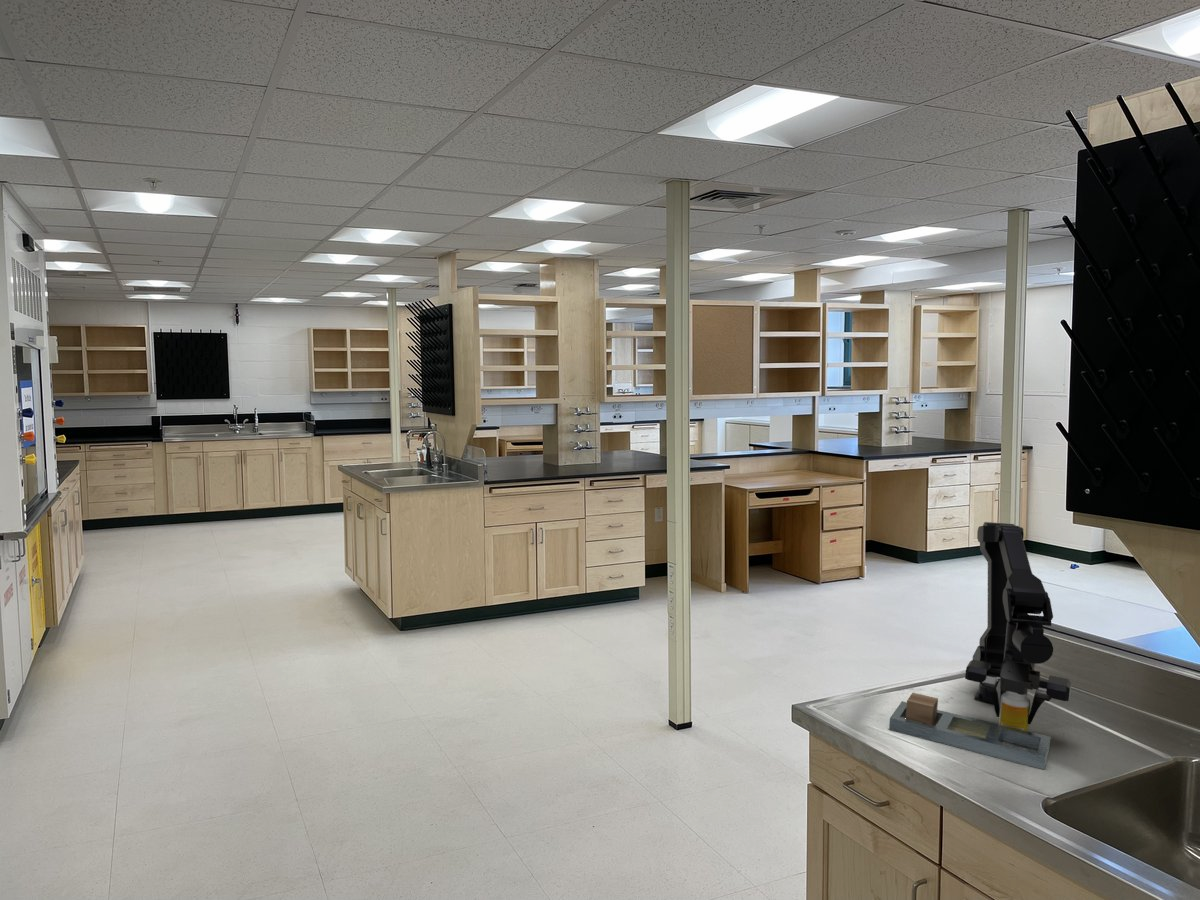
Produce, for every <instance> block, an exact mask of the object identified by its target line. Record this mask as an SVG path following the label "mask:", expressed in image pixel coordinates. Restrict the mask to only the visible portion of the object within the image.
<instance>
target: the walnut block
mask: <svg viewBox="0 0 1200 900" xmlns="http://www.w3.org/2000/svg"><path fill="white" fill-rule="evenodd" d="M906 702H907V707H906V719H909V720H913V721H917V722H921V723H925V724H929V725H933V726H936V725H937V724H936V718H937V710H938V704H939V698H938V697H933V696H930V695H924V694H921V693H916V692H912V693H910V696H909V697H908V698H907V700H906Z"/></svg>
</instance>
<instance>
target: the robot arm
mask: <svg viewBox="0 0 1200 900" xmlns="http://www.w3.org/2000/svg"><path fill="white" fill-rule="evenodd" d="M976 535H977V537H976V538H977V542H979V551H980V552H981V554H982V556H983V557H984V559H985V561H986V562H987V628H986V629H985V631H984V632H983V634H982V635H981V636H980V638H979V645H977V646H976V649H975V651H974V653H973V655H972V659H971V660H970V661H969V663H968V664H967V666H966V667H965V668H966V669H965V674H964V675H965V677H964V679H965V680H967V681H971V682H976V683H978V689H977V691H976V692H975V695H974V700H977V701H981V702H986V703H989V704H993V709H994V711H995V715H996V716H995V717H997V718H999V712H1000V701H1001V696H1002V694H1004V693H1006V692H1007V691H1010V692H1014V693H1018V694H1020V695H1025V694H1027V695H1028V692H1027V690H1031V691H1032V690H1035V693H1034V695H1033V699H1032V703H1031V705H1030V711H1029V718H1028V726H1029V725H1031V724H1032V721H1033V720H1034V718H1035V716H1036V715H1037V713H1038V710H1039V709H1040V707H1041V706H1042V704H1043V703H1044V702H1045V701H1046V702H1051V701H1052V699H1053V700H1058V701H1063V702H1069V700H1070V696H1071V691H1072V682H1071V680H1070V679H1069V678H1067V677H1066V678H1064V677H1061V676H1056V675H1048V679H1043V678H1042V679H1041V671H1039V670H1035V669H1036V665H1037V664H1038V665H1039V664H1044V663H1046V662H1047V661H1049V660H1050V659H1051V657H1052V656H1053V654H1054V645H1053V643H1052V641H1051V640H1050V639H1049V638H1048V637H1047V635H1045V633H1044V632H1045V629H1044V628H1043V626H1046V627H1047V626H1048V627H1051V626H1052V620H1053V618H1054V614H1053V613H1054V612H1053V608H1052V603H1051V598H1050V597H1049V593H1048V592H1047V591H1046V589H1045V587H1044V584H1043V582H1042V580H1041V579H1040V578H1039V577H1038V576H1036V575H1035V574H1033V572H1032V568H1031V565H1030V562H1029V561H1030V560H1029V557H1028V553H1027V550H1026V546H1025V543H1024V535H1025V534H1024V528H1023V527H1021V526H1019V525H1015V524H1014V523H1004V522H1002V523H1001V522H992V521H991V522H989V521H984V522H983V524H982V525H981V526H980V525H979V526H978V528H977V534H976Z"/></svg>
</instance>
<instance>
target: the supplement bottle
mask: <svg viewBox="0 0 1200 900" xmlns="http://www.w3.org/2000/svg"><path fill="white" fill-rule="evenodd" d="M1028 690H1029V689H1028ZM1028 690H1027V694H1025V695H1020V694H1018V693H1014V692H1010V691H1007V692H1006V693H1004V694H1002V696H1001V701H1000V712H999V717H998V723H997V724H999V725H1003V726H1007V727H1012V728H1016V729H1020V730H1024V731H1028V732H1029V724H1028V718H1029V714H1030V710H1031V700H1030V698H1029V697H1028V692H1029V691H1028Z"/></svg>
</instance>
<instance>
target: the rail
mask: <svg viewBox="0 0 1200 900" xmlns="http://www.w3.org/2000/svg"><path fill="white" fill-rule="evenodd" d="M906 707H907V701H904V700H903V701H902V700H901V701H900V703H899V704H898V706H897V707H896V708H895V710H894V712H893V713H892V715H891V716H890V717H889V728H888V730H889V731H892V732H898V733H901V734H904V733H905V734H904V735H908V734H909V735H908V736H912V737H916V738H921V739H924V740H928V741H932V742H936V743H939V744H943V745H947V746H950V747H954V748H958V749H963V750H967V751H970V752H974V753H978V754H982V755H987V756H989V757H993V758H998V759H1000V760H1001V759H1002V760H1005V761H1009V762H1014V763H1016V764H1022V765H1025V766H1028V767H1032V768H1035V769H1040V770H1045V767H1046V765H1047V760H1048V756H1049V751H1050V748H1051V747H1050V745H1051V738H1052V737H1051V736H1049V735H1045V734H1039V733H1036V732H1032V731H1029V730H1028V731H1024V730H1020V729H1016V728H1012V727H1007V726H1003V725H999V724H998V723H995V722H990V721H986V720H983V719H982V720H981V719H978V718H975V717H969V716H966V715H961V714H957V713H952V712H948V711H944V710H940V709H937V718H936V726H933V725H929V724H925V723H921V722H917V721H913V720H909V719H905V718H906ZM1001 741H1003V742H1001ZM1005 742H1006V743H1005ZM1008 743H1009V744H1008ZM1010 743H1011V744H1010ZM1012 744H1013V745H1012ZM1014 744H1016V745H1014ZM1017 745H1020V746H1023V747H1020V746H1017ZM1024 747H1027V748H1024ZM1029 748H1031V749H1029ZM1032 749H1035V750H1032Z"/></svg>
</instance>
